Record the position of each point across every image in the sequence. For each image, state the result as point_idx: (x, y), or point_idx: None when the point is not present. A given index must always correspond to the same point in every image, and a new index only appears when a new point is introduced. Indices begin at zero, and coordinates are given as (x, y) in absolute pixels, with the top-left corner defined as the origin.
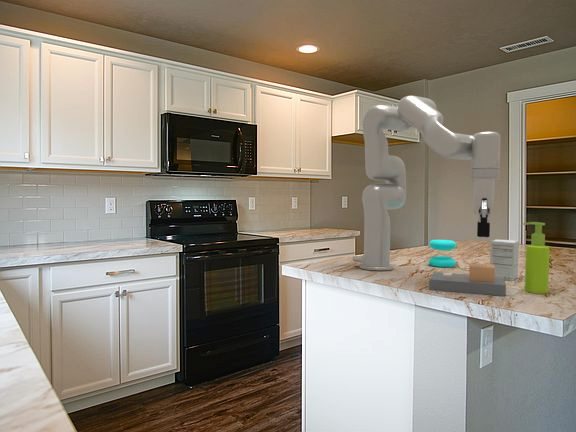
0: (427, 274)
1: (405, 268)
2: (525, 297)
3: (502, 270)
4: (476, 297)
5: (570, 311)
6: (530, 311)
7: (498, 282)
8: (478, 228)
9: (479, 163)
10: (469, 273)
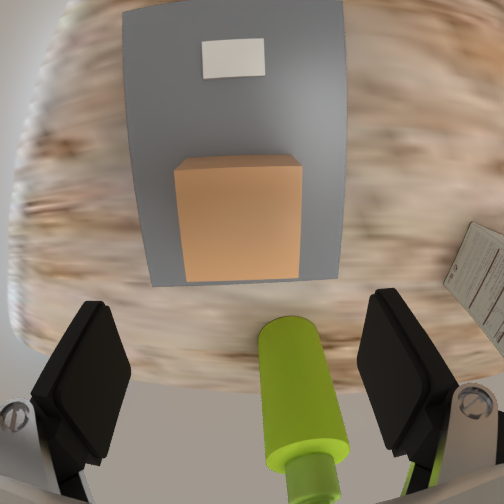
0: (459, 9)
1: None
2: (180, 314)
3: (471, 270)
4: (91, 189)
5: None
6: (38, 309)
7: None
8: (61, 355)
9: None
10: (180, 164)
